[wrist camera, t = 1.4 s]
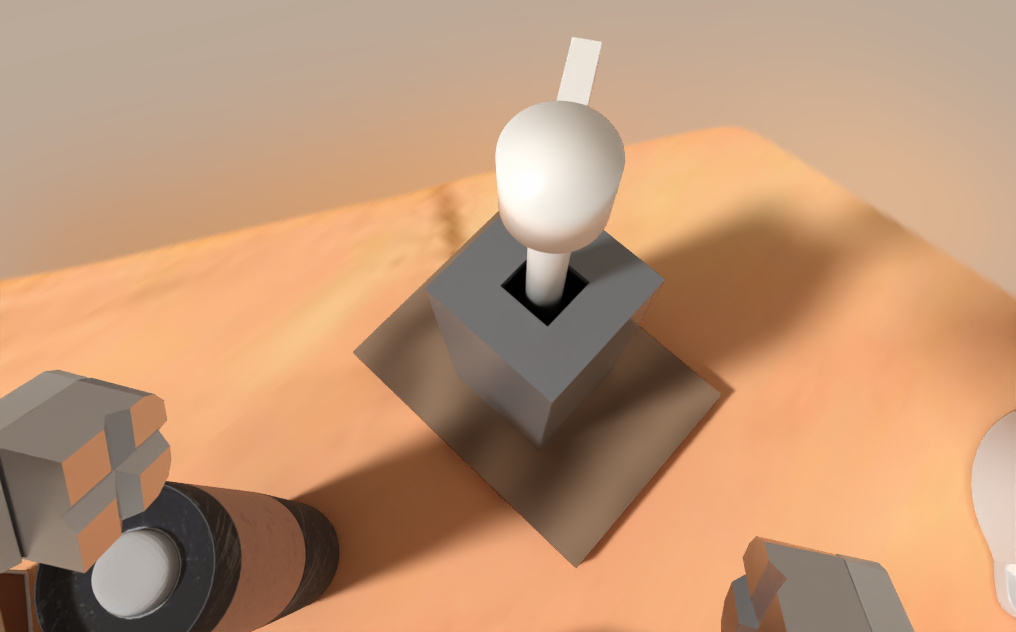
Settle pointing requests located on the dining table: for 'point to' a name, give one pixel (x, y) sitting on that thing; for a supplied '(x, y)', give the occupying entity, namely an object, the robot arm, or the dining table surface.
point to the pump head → (558, 178)
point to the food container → (15, 602)
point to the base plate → (575, 445)
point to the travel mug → (196, 567)
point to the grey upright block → (538, 326)
